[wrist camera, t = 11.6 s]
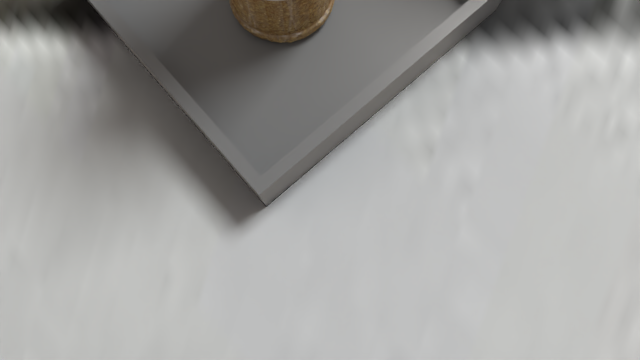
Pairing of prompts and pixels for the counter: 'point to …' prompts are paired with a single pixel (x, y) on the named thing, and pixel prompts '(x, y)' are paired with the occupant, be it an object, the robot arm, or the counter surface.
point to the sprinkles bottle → (281, 17)
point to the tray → (287, 73)
